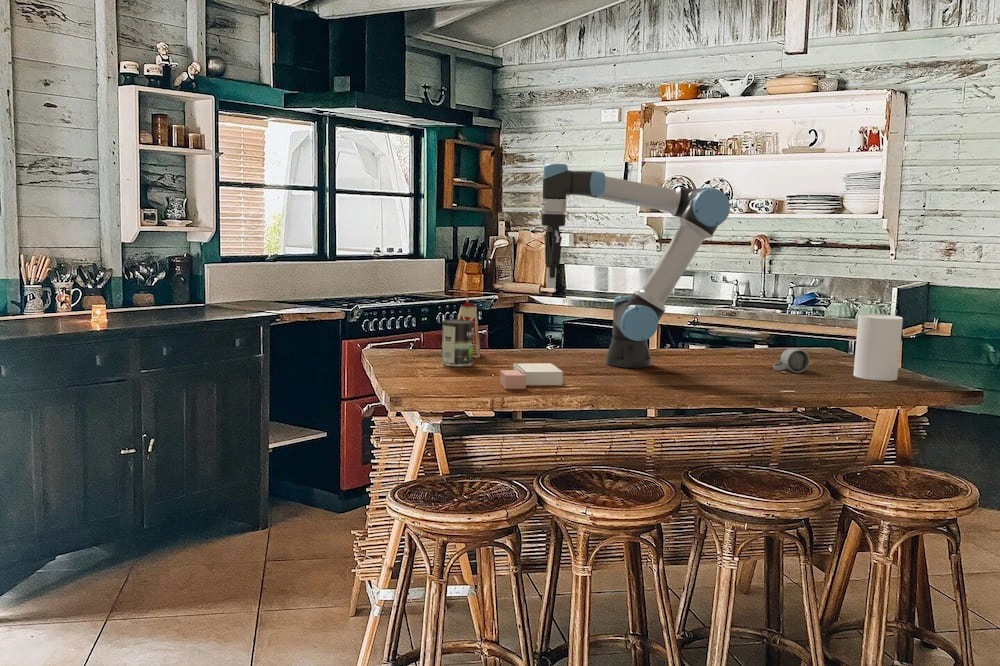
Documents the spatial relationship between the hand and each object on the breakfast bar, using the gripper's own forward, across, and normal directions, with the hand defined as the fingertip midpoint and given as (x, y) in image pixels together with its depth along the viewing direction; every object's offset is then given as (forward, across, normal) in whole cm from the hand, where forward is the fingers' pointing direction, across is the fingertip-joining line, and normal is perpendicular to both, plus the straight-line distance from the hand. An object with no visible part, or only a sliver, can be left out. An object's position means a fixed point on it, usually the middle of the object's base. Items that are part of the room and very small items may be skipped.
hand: (550, 287), depth 314 cm
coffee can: (+27, -10, -28) cm, 40 cm away
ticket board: (+26, +19, -8) cm, 33 cm away
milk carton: (+27, -27, -22) cm, 44 cm away
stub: (+26, +28, -18) cm, 42 cm away
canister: (+27, +16, +107) cm, 111 cm away
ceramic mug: (+27, +5, +82) cm, 87 cm away
